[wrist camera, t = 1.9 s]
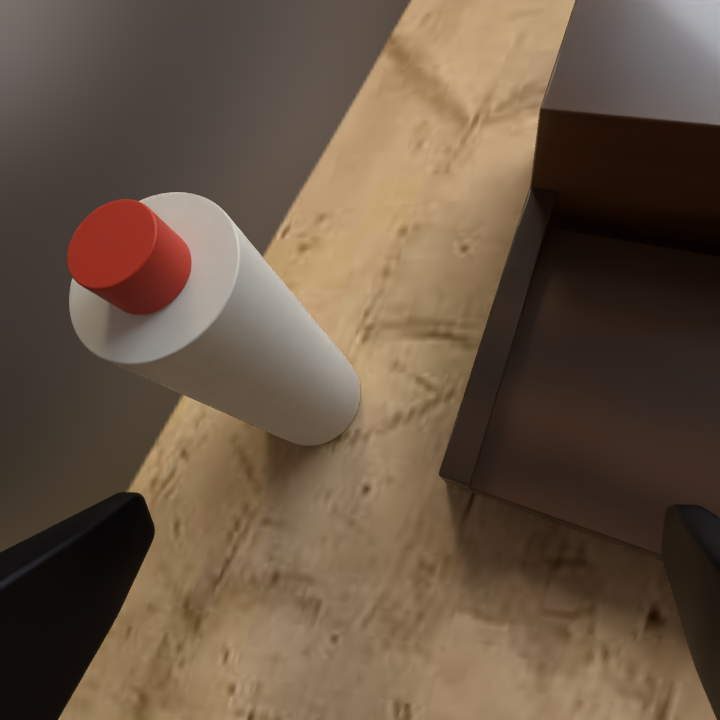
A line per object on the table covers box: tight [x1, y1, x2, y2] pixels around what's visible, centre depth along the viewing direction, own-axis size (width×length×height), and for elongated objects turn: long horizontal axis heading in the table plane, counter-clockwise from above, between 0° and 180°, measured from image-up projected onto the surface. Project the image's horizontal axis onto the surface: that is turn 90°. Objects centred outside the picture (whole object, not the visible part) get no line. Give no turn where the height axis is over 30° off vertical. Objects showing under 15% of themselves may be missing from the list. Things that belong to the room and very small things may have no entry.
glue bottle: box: [67, 192, 361, 446], centre depth 18 cm, size 5×5×14 cm
